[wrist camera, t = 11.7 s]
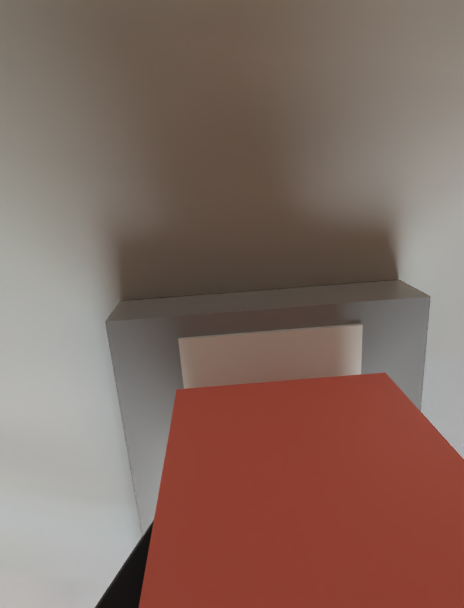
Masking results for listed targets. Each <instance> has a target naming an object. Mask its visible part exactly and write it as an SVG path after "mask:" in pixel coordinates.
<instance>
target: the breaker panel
mask: <svg viewBox="0 0 464 608" xmlns="http://www.w3.org/2000/svg"><path fill="white" fill-rule="evenodd" d="M429 307H430V296H429V295H427V294H425V293H423V292H421V291H419V290H418V289H416V288H414V287H412V286H410V285H408V284H406V283H404V282H403V281H401V280H390V281H377V282H364V283H351V284H338V285H325V286H312V287H299V288H286V289H272V290H259V291H246V292H233V293H220V294H207V295H194V296H181V297H168V298H155V299H142V300H129V301H121V302H120V303H119V304H118V306H117V307H116V308H115V310H114V311H113V312H112V314H111V315H110V316H109V317H108V319H107V320H106V321H105V323H106V329H107V334H108V340H109V346H110V352H111V358H112V363H113V369H114V375H115V381H116V387H117V392H118V398H119V404H120V410H121V416H122V421H123V427H124V433H125V439H126V445H127V450H128V456H129V462H130V468H131V474H132V479H133V485H134V491H135V497H136V503H137V508H138V514H139V520H140V526H141V532H142V536H143V535H144V533H145V532H146V530H147V529H148V527H149V526H150V524H151V523H152V521H153V520H154V516H155V511H156V505H157V499H158V493H159V488H160V482H161V476H162V470H163V465H164V459H165V453H166V447H167V441H168V436H169V430H170V424H171V418H172V413H173V407H174V401H175V395H176V390H177V389H187V388H199V387H211V386H224V385H236V384H249V383H261V382H273V381H286V380H298V379H310V378H323V377H335V376H347V375H360V374H372V373H384V372H386V374H387V375H388V376H389V377H390V378H391V379H392V380H393V381H394V383H395V384H396V385H397V386H398V387H399V388H400V389H401V390H402V391H403V393H404V394H405V395H406V396H407V397H408V398H409V399H410V400H411V401H412V403H413V404H414V405H415V406H416V407H417V408H418V409H419V410H421V398H422V387H423V376H424V364H425V353H426V341H427V330H428V318H429Z"/></svg>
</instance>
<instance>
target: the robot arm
mask: <svg viewBox="0 0 464 608" xmlns="http://www.w3.org/2000/svg"><path fill="white" fill-rule="evenodd" d="M153 522H154V520H153V521H152V523H151V524H150V526H149V527H148V529H147V530H146V532H145V533H144V535H143V536H142V538H141V539H140V541H139V542H138V544H137V545H136V547H135V548H134V550H133V551H132V553H131V554H130V556H129V557H128V559H127V560H126V562H125V563H124V565H123V566H122V568H121V569H120V571H119V572H118V574H117V575H116V577H115V578H114V580H113V581H112V583H111V584H110V586H109V587H108V589H107V590H106V592H105V593H104V595H103V596H102V598H101V599H100V601H99V602H98V604H97V605H96V607H95V608H139V603H140V597H141V591H142V586H143V580H144V574H145V568H146V563H147V557H148V551H149V545H150V539H151V534H152V528H153Z"/></svg>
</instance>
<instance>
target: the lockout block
mask: <svg viewBox="0 0 464 608" xmlns="http://www.w3.org/2000/svg"><path fill="white" fill-rule="evenodd" d="M139 608H464V459H463V458H462V457H461V456H460V455H459V454H458V453H457V452H456V451H455V449H454V448H453V447H452V446H451V445H450V444H449V443H448V442H447V440H446V439H445V438H444V437H443V436H442V435H441V434H440V433H439V432H438V430H437V429H436V428H435V427H434V426H433V425H432V424H431V423H430V422H429V420H428V419H427V418H426V417H425V416H424V415H423V414H422V413H421V411H420V410H419V409H418V408H417V407H416V406H415V405H414V404H413V403H412V401H411V400H410V399H409V398H408V397H407V396H406V395H405V394H404V393H403V391H402V390H401V389H400V388H399V387H398V386H397V385H396V384H395V383H394V381H393V380H392V379H391V378H390V377H389V376H388V375H387V374H386V372H384V373H372V374H360V375H347V376H335V377H323V378H310V379H298V380H286V381H273V382H261V383H249V384H236V385H224V386H211V387H199V388H187V389H177V390H176V395H175V401H174V407H173V413H172V418H171V424H170V430H169V436H168V441H167V447H166V453H165V459H164V465H163V470H162V476H161V482H160V488H159V493H158V499H157V505H156V511H155V516H154V522H153V528H152V534H151V539H150V545H149V551H148V557H147V563H146V568H145V574H144V580H143V586H142V591H141V597H140V603H139Z"/></svg>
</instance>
